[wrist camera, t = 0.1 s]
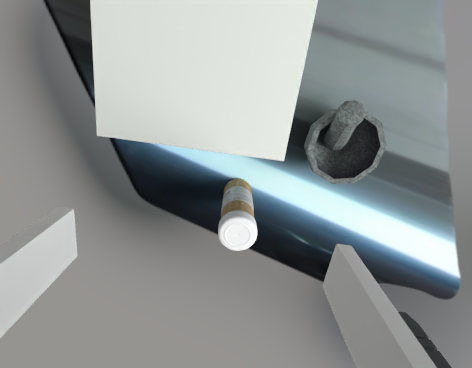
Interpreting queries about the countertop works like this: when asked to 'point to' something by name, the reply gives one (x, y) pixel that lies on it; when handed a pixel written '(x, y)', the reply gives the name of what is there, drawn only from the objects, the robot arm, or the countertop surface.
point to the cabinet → (200, 72)
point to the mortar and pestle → (345, 144)
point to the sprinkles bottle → (237, 216)
